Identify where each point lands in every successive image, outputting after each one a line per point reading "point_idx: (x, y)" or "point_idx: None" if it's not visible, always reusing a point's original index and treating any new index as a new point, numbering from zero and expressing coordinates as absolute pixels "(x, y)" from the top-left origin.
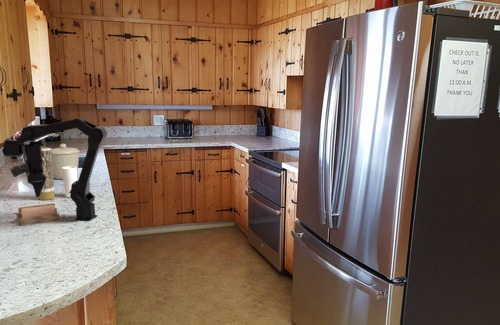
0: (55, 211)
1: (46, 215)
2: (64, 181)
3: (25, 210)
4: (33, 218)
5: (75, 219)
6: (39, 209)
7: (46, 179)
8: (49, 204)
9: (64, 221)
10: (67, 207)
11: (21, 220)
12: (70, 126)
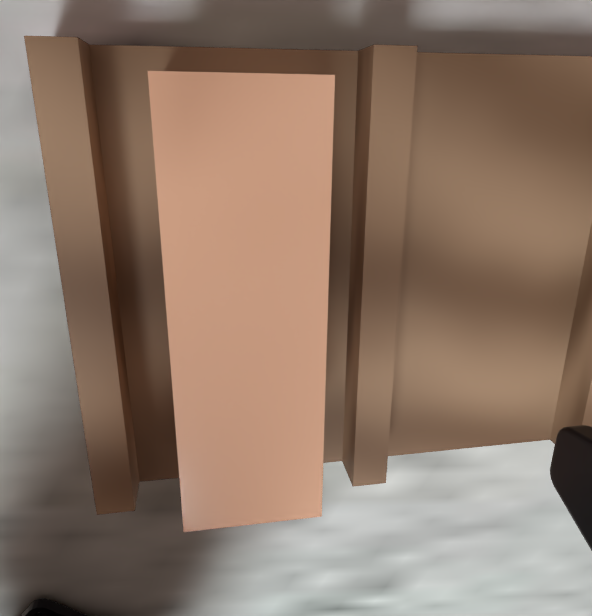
0: (345, 454)
1: (106, 387)
2: None
3: (175, 141)
4: (56, 230)
5: (34, 602)
6: (169, 346)
7: None
8: (587, 414)
9: (37, 509)
10: (524, 523)
11: (35, 63)
12: None
